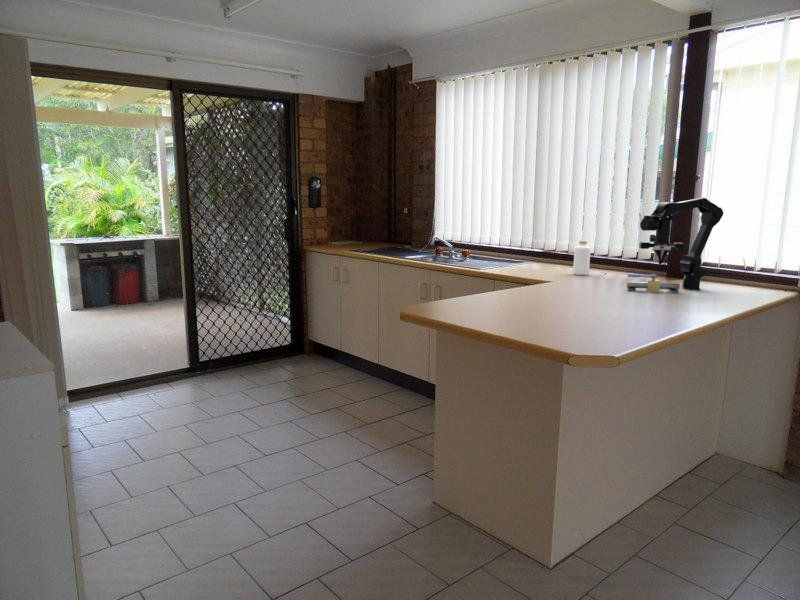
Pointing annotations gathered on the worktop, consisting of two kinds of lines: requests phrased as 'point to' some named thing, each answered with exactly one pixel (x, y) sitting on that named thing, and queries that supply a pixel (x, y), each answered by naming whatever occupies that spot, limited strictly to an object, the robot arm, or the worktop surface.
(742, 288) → the worktop surface
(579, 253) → the potion bottle
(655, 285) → the pipe run
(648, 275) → the valve lever
